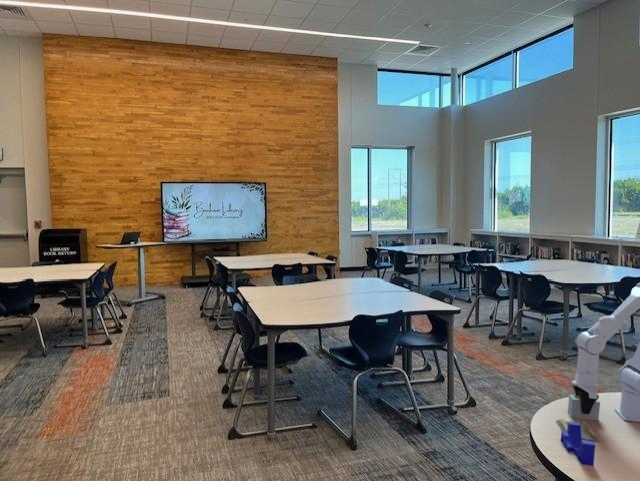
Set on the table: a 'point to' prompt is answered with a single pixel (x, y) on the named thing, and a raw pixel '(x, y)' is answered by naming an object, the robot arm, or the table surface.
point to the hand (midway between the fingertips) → (583, 410)
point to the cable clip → (578, 444)
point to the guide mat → (584, 432)
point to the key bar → (575, 408)
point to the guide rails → (583, 425)
